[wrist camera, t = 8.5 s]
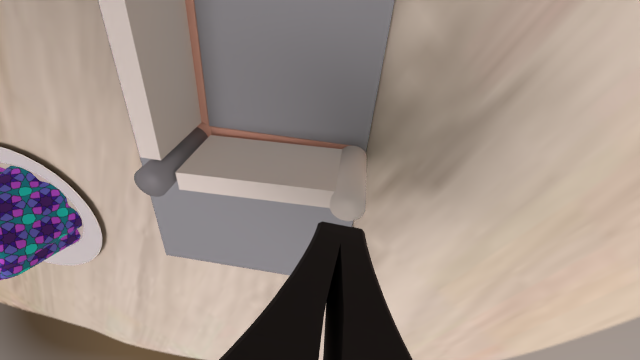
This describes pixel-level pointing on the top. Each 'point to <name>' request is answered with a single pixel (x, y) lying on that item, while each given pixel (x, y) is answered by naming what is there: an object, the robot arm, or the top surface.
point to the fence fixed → (156, 84)
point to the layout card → (274, 114)
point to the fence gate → (279, 173)
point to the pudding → (41, 219)
